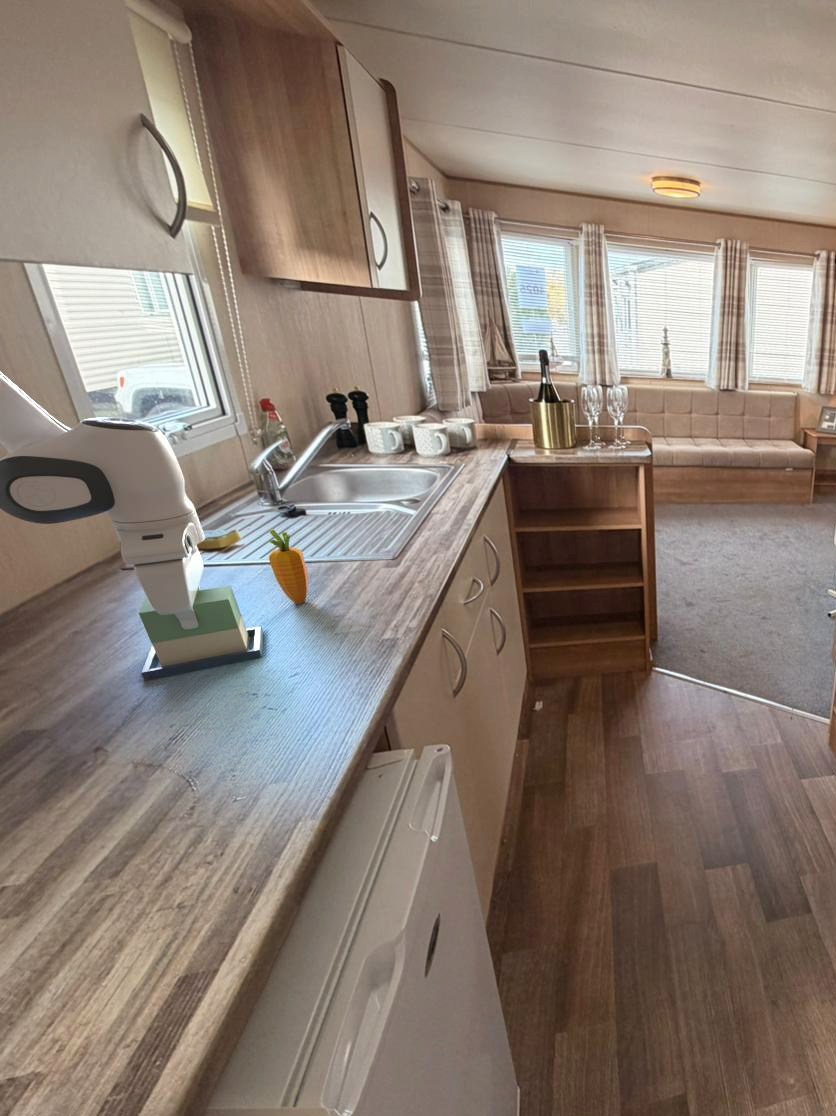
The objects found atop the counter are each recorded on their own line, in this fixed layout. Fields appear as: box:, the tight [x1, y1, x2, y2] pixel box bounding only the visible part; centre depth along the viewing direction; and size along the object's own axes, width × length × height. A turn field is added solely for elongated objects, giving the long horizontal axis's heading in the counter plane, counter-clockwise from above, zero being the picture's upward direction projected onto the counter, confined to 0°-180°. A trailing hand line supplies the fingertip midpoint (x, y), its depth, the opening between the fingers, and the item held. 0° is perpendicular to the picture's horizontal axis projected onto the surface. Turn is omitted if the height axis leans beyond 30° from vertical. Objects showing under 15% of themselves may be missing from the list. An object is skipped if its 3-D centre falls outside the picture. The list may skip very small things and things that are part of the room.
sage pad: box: [138, 585, 242, 644], centre depth 98 cm, size 10×6×5 cm, turn 126°
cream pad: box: [151, 613, 251, 667], centre depth 100 cm, size 10×6×5 cm, turn 126°
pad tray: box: [140, 625, 264, 681], centre depth 101 cm, size 14×10×2 cm
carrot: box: [268, 529, 309, 605], centre depth 116 cm, size 5×5×15 cm
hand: (194, 617), depth 98 cm, fingers closed on sage pad, 6 cm apart
